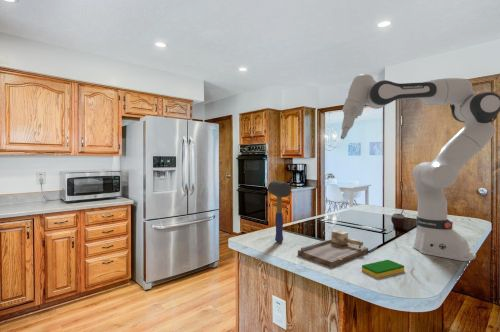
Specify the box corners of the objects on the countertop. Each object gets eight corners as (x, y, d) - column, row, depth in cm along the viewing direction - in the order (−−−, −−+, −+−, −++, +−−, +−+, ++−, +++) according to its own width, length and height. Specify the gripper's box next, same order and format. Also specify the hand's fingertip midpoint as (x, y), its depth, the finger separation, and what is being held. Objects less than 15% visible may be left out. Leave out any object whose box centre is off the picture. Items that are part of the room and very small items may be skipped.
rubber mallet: (292, 245, 131) (292, 181, 130) (278, 247, 129) (278, 182, 128) (279, 238, 143) (279, 179, 142) (266, 239, 140) (266, 180, 139)
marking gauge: (364, 247, 120) (364, 236, 120) (359, 249, 118) (359, 238, 117) (336, 240, 131) (336, 229, 131) (331, 242, 129) (331, 231, 128)
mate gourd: (388, 227, 164) (388, 202, 163) (397, 226, 167) (398, 201, 166) (400, 230, 157) (400, 204, 156) (409, 228, 160) (409, 202, 160)
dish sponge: (404, 272, 101) (404, 265, 101) (377, 279, 96) (377, 272, 96) (388, 265, 108) (388, 259, 108) (361, 271, 102) (361, 265, 102)
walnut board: (370, 253, 120) (370, 245, 120) (333, 268, 104) (333, 259, 104) (334, 243, 134) (334, 236, 134) (297, 255, 118) (297, 247, 118)
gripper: (362, 107, 118) (351, 138, 120) (357, 114, 138) (347, 141, 140) (347, 103, 120) (337, 134, 121) (344, 111, 140) (335, 137, 141)
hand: (342, 138), depth 131 cm, fingers open, 8 cm apart
